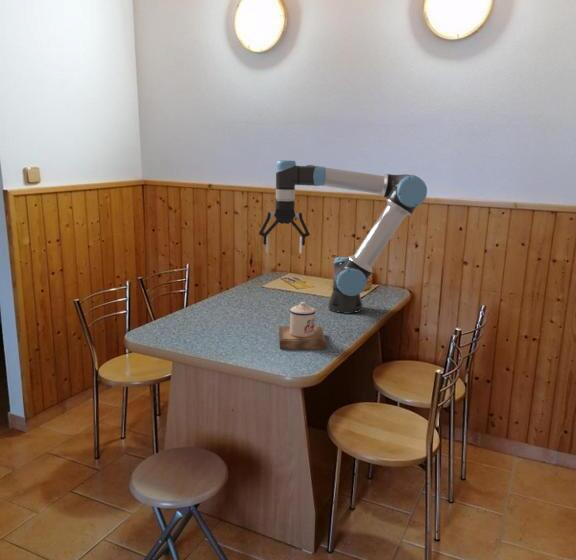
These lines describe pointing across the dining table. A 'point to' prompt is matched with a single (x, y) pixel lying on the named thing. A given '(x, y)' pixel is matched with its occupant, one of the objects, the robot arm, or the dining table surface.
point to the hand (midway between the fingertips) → (283, 252)
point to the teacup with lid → (302, 320)
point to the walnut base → (301, 339)
